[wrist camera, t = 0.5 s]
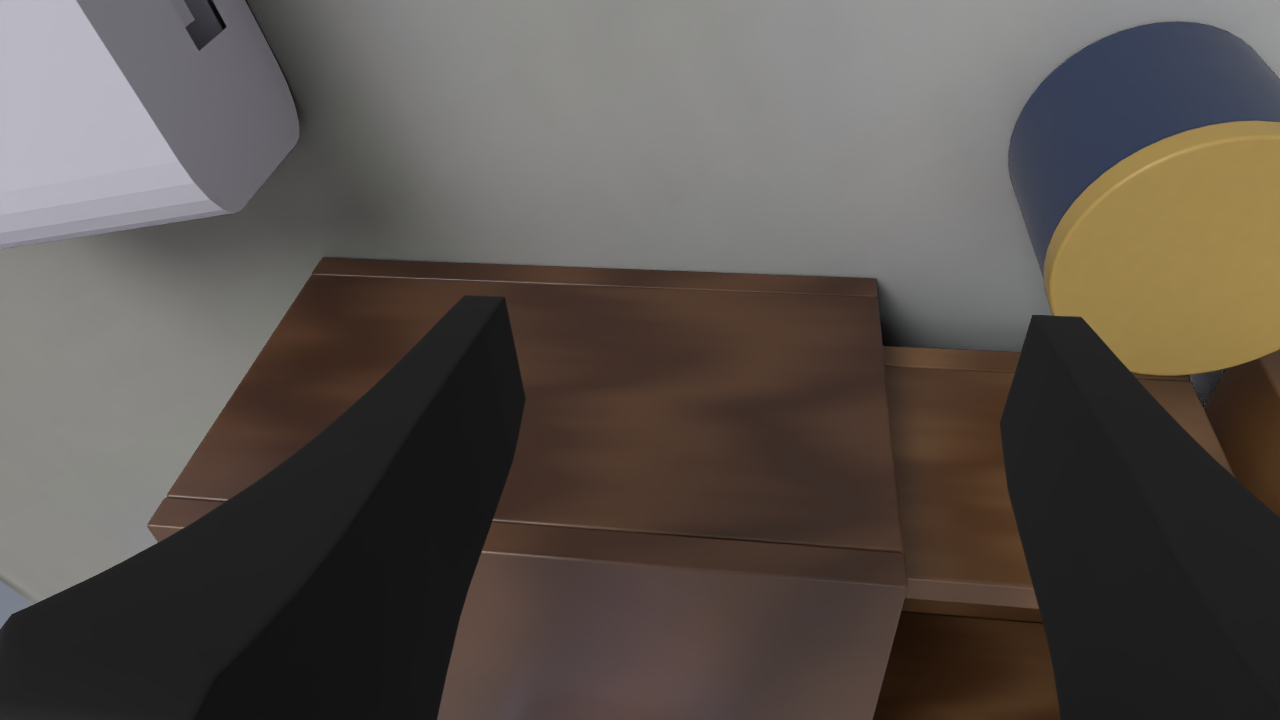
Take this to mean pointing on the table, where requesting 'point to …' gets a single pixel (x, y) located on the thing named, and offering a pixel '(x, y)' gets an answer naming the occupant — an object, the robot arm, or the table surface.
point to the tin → (1158, 196)
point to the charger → (134, 114)
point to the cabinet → (629, 483)
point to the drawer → (1011, 525)
